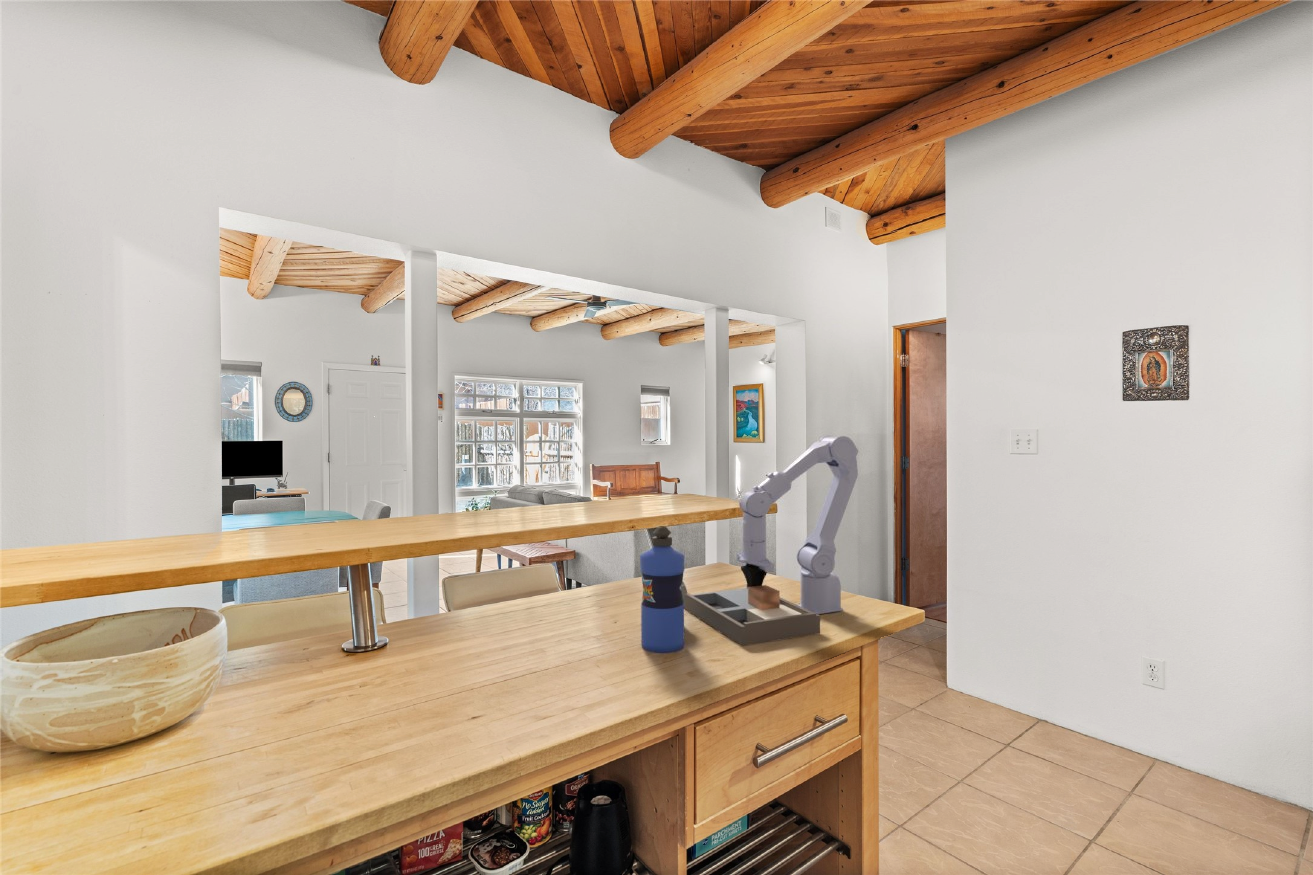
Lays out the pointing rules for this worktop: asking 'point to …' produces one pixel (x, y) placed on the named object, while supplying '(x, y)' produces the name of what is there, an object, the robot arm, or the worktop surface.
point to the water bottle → (662, 595)
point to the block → (763, 597)
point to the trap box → (751, 617)
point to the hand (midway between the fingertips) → (754, 595)
